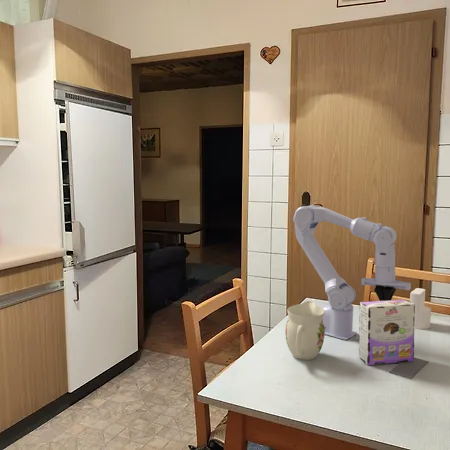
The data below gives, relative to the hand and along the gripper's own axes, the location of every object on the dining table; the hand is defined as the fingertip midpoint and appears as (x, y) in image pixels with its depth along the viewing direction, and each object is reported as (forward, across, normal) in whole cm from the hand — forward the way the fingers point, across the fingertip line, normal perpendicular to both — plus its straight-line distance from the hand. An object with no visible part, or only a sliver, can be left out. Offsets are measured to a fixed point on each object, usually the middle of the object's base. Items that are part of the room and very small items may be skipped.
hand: (385, 310), depth 140 cm
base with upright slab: (+11, -1, -25) cm, 27 cm away
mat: (+11, -11, +13) cm, 20 cm away
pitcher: (+10, +14, +26) cm, 31 cm away
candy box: (+11, -5, +13) cm, 17 cm away
